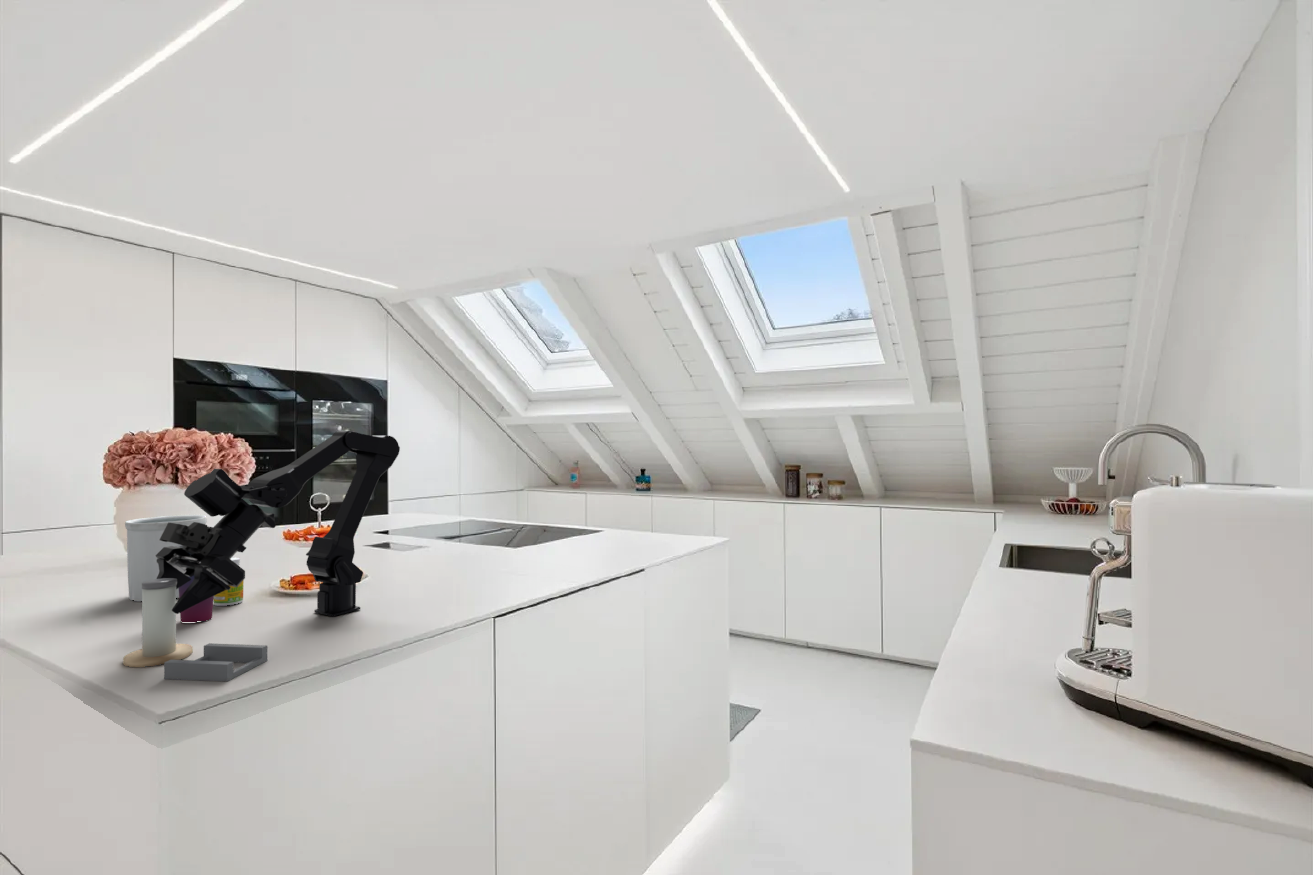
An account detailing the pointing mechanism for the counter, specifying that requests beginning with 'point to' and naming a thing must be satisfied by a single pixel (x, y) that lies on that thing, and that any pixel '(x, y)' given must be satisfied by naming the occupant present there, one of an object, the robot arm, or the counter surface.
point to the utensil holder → (149, 548)
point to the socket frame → (217, 662)
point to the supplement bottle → (230, 592)
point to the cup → (196, 606)
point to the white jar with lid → (158, 617)
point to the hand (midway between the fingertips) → (160, 608)
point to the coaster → (139, 661)
